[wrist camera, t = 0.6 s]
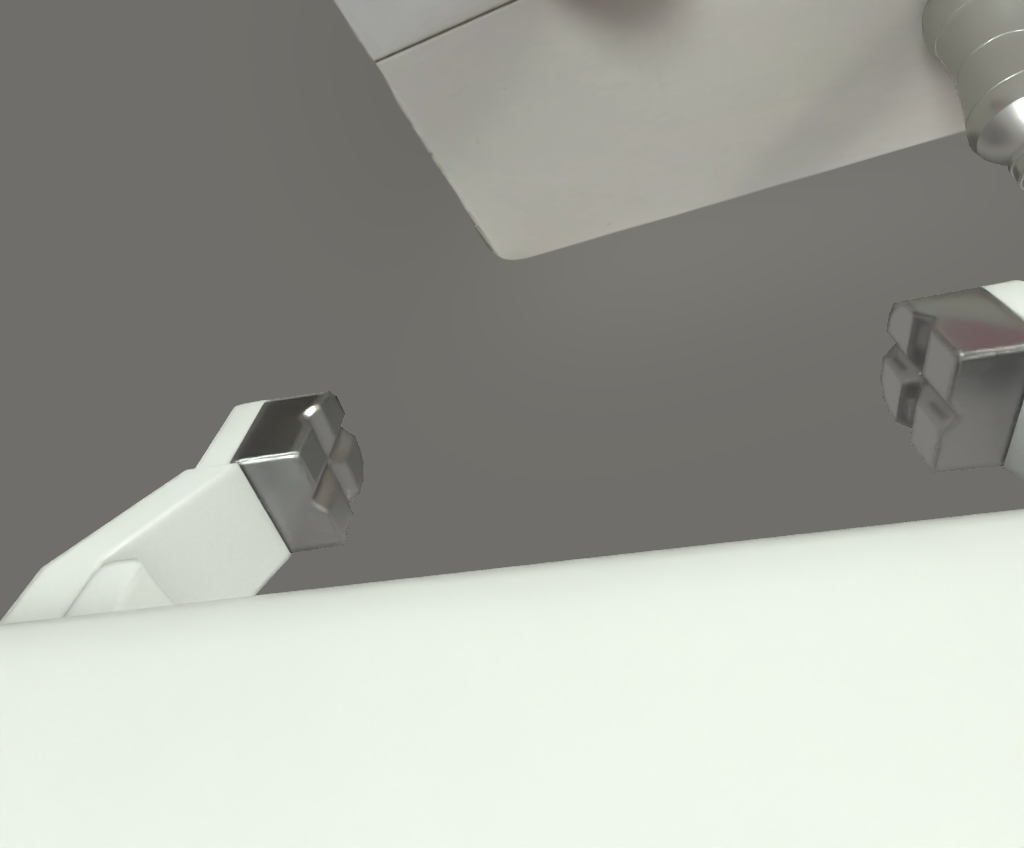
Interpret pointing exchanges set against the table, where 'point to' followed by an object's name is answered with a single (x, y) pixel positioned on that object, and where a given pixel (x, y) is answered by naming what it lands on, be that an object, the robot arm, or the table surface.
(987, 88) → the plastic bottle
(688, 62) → the table surface
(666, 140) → the table surface
